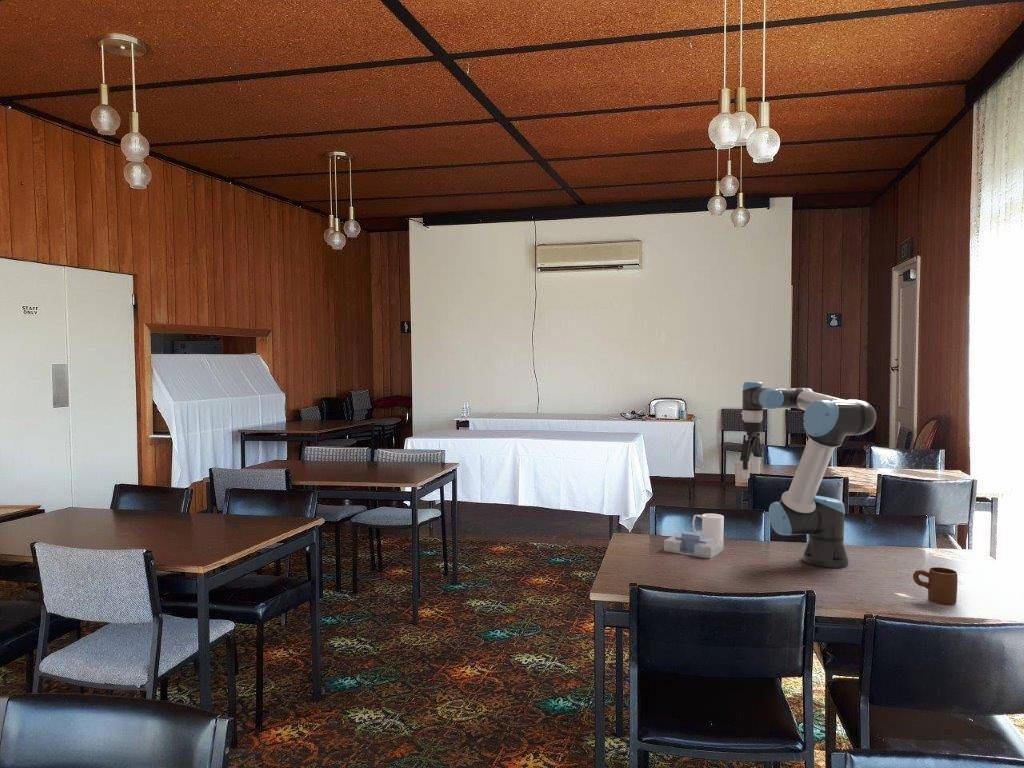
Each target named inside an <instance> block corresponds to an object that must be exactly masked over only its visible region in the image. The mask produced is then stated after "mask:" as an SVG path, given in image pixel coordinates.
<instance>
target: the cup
mask: <svg viewBox="0 0 1024 768" xmlns="http://www.w3.org/2000/svg"><path fill="white" fill-rule="evenodd" d="M696 517H697V518H701V519H702V520H701V521H702V522H701V530H696V526H695V525H696V524H695V521H696ZM724 520H725V516H724V515H722V514H718V513H703V514H695V515H693V518H692V531H693V532H694V533H701V534H703V539H706V538H707V537H708V538H715V539H721V540H724V529H725V527H724V524H725V523H724V522H725V521H724Z"/></svg>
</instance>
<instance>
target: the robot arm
mask: <svg viewBox="0 0 1024 768" xmlns="http://www.w3.org/2000/svg"><path fill="white" fill-rule="evenodd" d="M741 399H742V400H741V401H742V404H741V405H742V407H741V408H742V411H741V413H740V415H742V417H741V419H742V423H741V431H742V432H745V433H746V434H743V437H742V438H743V440H742V447H741V453H740V458H739V461H740V462H741V478H742V479H750V474H755V475H756V474H758V475H760V474H761V473H760V471H761V468H760V467H761V458H762V457H763V451H762V443H761V432H762V431H763V422H762V421H763V417H764V415H763V412H764V411H763V408H764V409H767V410H774V409H787V408H788V409H789V408H790V409H798V410H801V411H804V414H803V416H802V419H803V428H804V431H805V435H806V436H807V438H808V439H807V442H806V444H805V447H804V450H803V452H802V454H801V458H800V460H799V463H798V466H797V469H796V470H795V473H794V476H793V478H792V481H791V483H790V487H789V489H788V490H787V491H784V492H783V493H782V494H781V497H780V499H779V501H774V502H771V503H770V505H769V508H768V517H769V522H770V525H771V527H772V529H773V530H774V531H775V533H776V534H778V535H780V536H799V535H801V536H802V535H808V539H807V542H806V544H805V547H804V549H803V552H802V560H803V561H804V563H806V564H810V565H813V566H816V567H820V568H822V567H823V568H832V569H833V568H835V569H837V568H845V567H848V566H849V563H850V562H849V561H850V560H849V555H848V552H847V548H846V545H845V542H844V541H845V515H846V512H845V511H846V510H845V503H844V502H843V501H842V500H840V499H836V498H832V497H827V496H823V495H822V496H821V495H817V493H818V491H819V487H820V485H821V483H822V481H823V478H824V476H825V474H826V471H827V469H828V466H829V463H830V461H831V458H832V456H833V454H834V451H835V449H836V448H839V447H841V446H842V445H843V442H844V440H845V439H846V436H847V437H848V436H861V435H864V434H866V433H868V432H870V431H871V430H872V429H873V428H874V426H875V425H876V422H877V412H876V409H875V408H874V406H872V405H871V404H870V403H869V402H867V401H865V400H859V399H856V398H850V399H843V398H839V397H837V396H836V397H835V396H832V395H828V394H823V393H820V392H819V393H818V392H815V391H813V389H812V388H809V387H808V388H807V387H788V388H787V387H764V383H763V382H762V381H744V382H743V385H742V398H741ZM751 454H752V455H753V456H752V466H751V461H750V458H751ZM750 466H751V467H752V468H751V467H750ZM750 472H752V473H750Z"/></svg>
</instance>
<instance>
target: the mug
mask: <svg viewBox="0 0 1024 768" xmlns="http://www.w3.org/2000/svg"><path fill="white" fill-rule="evenodd" d="M920 575H921V576H923V577H926V578H928V580H927V581H926V580H922V579H920V577H919V576H920ZM912 578H913V582H914V583H915V584H916V585H918V586H920V587H924V588H926V590H927V599H928V600H929V601H931V602H932V603H934V604H939V605H943V606H944V605H945V606H949V605H950V606H952V605H953V606H954V605H955V604H956V603H957V599H958V581H959V580H958V579H959V577H958V572H957V571H956V570H954V569H951V568H946V567H940V566H939V567H938V566H937V567H935V566H934V567H930V568H929V569H928V571H926V570H924V569H916V570H915V571H914V572H913V574H912Z"/></svg>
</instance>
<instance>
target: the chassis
mask: <svg viewBox="0 0 1024 768" xmlns="http://www.w3.org/2000/svg"><path fill="white" fill-rule="evenodd" d="M681 533H682V532H681ZM681 533H680V532H677V533H675V534H673V535H672V536H670V537H668V538H666V539H664V541H663V552H669V553H675V554H680V555H687V556H693V557H698V558H699V557H700V558H703V559H704V558H705V559H710V560H711V559H713V558H715V556H717V555H718V554H720V553H722V552H723V551H724V546H725V545H724V543H725V542H724V541H725V539H723V540H721V539H715V538H708V537H707V538H706V539H709V542H707V543H697V544H696V545H695V546H694V551H690V550H684V540H681V539H676V538H675V537H676V536H677V535H681Z"/></svg>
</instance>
